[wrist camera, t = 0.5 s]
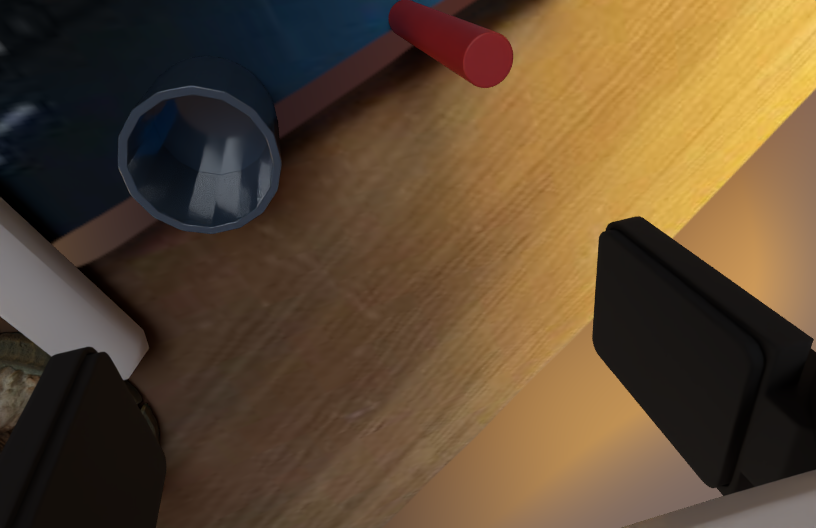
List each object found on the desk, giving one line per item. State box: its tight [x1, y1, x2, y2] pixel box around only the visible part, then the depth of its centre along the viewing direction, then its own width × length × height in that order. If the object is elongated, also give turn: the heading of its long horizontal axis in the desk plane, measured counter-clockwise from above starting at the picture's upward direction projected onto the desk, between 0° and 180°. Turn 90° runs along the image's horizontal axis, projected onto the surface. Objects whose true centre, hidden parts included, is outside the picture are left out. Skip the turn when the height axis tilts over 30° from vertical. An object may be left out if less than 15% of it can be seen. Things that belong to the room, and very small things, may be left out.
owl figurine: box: [0, 332, 160, 454], centre depth 33 cm, size 18×12×17 cm, turn 34°
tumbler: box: [118, 56, 282, 234], centre depth 29 cm, size 7×7×8 cm
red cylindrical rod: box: [389, 0, 513, 88], centre depth 26 cm, size 2×2×14 cm
